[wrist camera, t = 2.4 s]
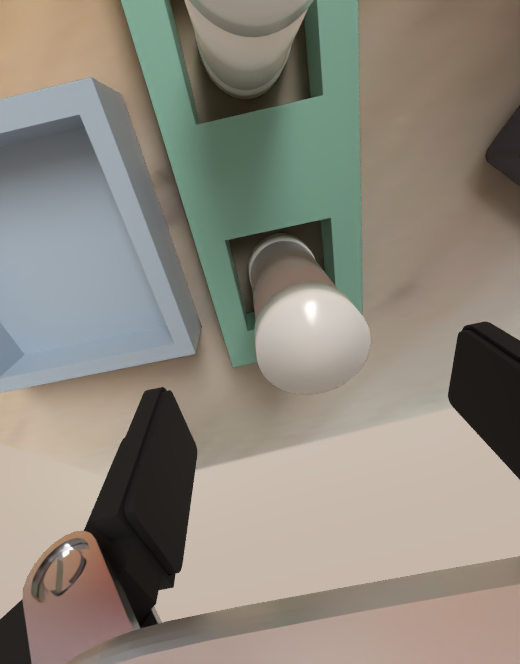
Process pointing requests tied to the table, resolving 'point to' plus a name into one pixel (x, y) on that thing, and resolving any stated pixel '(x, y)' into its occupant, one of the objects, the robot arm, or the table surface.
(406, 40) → the table surface
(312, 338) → the fuse
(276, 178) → the block
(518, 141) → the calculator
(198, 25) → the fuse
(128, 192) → the parts tray
